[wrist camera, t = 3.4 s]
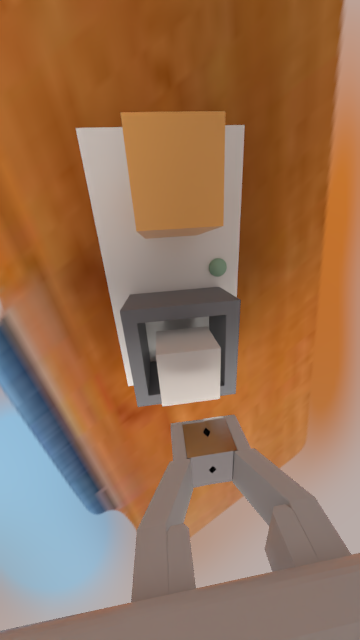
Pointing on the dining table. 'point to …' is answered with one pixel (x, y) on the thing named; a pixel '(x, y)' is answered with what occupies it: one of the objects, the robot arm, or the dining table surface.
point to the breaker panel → (164, 264)
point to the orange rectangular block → (175, 171)
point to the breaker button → (188, 365)
